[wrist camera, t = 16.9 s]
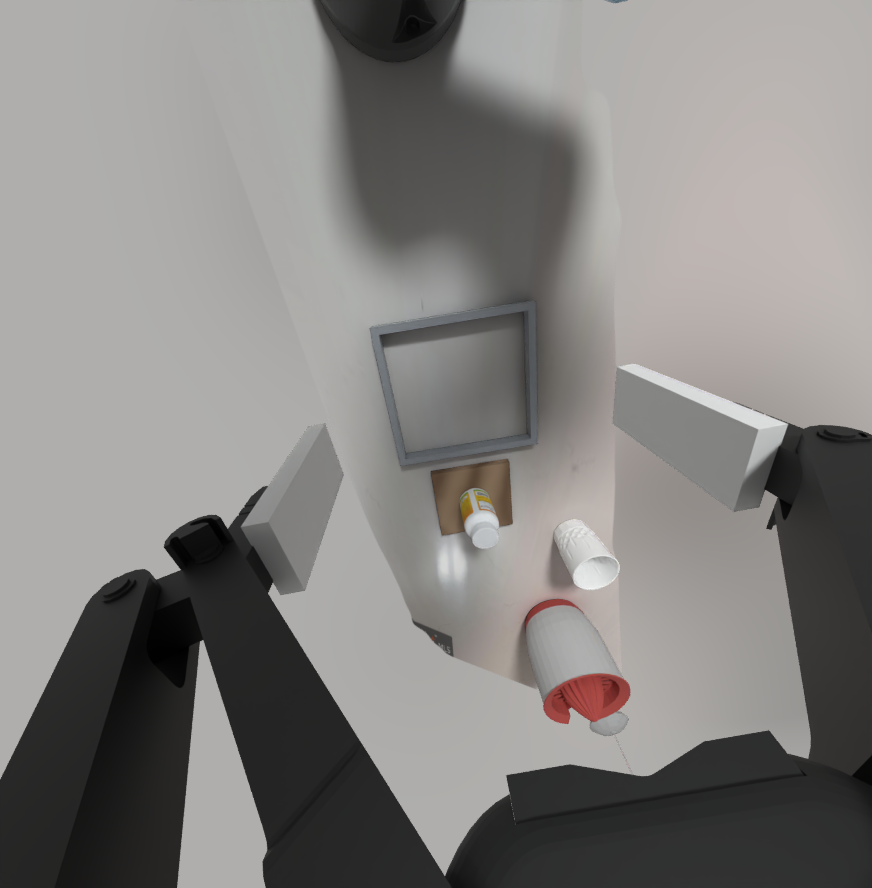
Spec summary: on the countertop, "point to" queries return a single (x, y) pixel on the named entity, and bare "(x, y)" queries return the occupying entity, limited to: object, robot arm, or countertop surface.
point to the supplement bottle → (479, 518)
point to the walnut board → (463, 478)
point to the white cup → (585, 555)
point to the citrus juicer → (572, 663)
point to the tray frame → (525, 306)
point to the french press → (611, 726)
